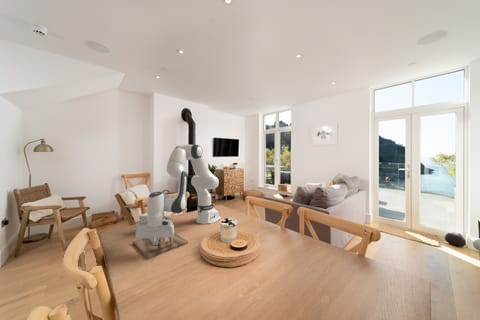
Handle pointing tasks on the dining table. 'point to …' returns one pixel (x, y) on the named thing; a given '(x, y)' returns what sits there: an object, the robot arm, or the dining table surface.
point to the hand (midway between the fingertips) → (155, 244)
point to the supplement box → (143, 217)
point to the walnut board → (158, 246)
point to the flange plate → (162, 241)
